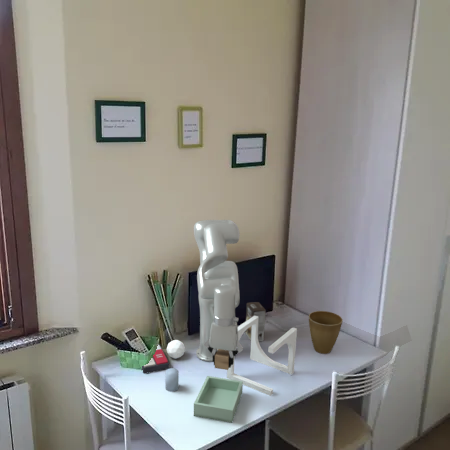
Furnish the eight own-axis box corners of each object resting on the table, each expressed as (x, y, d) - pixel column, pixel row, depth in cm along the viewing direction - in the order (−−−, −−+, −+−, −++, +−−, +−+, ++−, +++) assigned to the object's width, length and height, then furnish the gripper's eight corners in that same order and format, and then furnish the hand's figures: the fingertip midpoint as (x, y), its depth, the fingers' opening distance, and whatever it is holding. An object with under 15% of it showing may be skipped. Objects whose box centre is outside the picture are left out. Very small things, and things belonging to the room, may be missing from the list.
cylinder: (168, 383, 185) (168, 367, 183) (180, 385, 184) (180, 369, 182) (163, 390, 180) (163, 374, 178) (176, 392, 179) (176, 376, 177)
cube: (217, 361, 176) (218, 349, 175) (230, 363, 175) (231, 350, 174) (214, 367, 172) (214, 355, 170) (227, 370, 171) (228, 357, 169)
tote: (207, 387, 183) (207, 375, 182) (242, 392, 180) (242, 381, 179) (193, 416, 166) (193, 403, 165) (232, 422, 163) (232, 410, 162)
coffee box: (244, 333, 226) (246, 302, 222) (257, 331, 228) (258, 301, 224) (251, 342, 218) (252, 310, 214) (264, 340, 220) (266, 309, 216)
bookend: (293, 372, 195) (297, 328, 190) (270, 396, 179) (273, 348, 174) (252, 357, 206) (254, 315, 200) (226, 378, 190) (228, 333, 184)
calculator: (143, 366, 190) (135, 347, 203) (143, 375, 191) (135, 355, 204) (169, 361, 194) (159, 342, 207) (169, 370, 195) (159, 351, 208)
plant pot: (342, 359, 206) (346, 325, 202) (308, 357, 206) (311, 324, 202) (335, 342, 221) (338, 310, 216) (304, 341, 221) (306, 309, 217)
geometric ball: (172, 364, 203) (162, 354, 199) (174, 349, 209) (164, 339, 205) (187, 358, 201) (177, 348, 197) (188, 344, 207) (178, 333, 203)
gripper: (249, 317, 171) (247, 362, 175) (204, 312, 174) (203, 356, 179) (245, 326, 164) (243, 373, 168) (198, 320, 167) (197, 366, 172)
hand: (222, 364), depth 173 cm, fingers closed on cube, 4 cm apart
